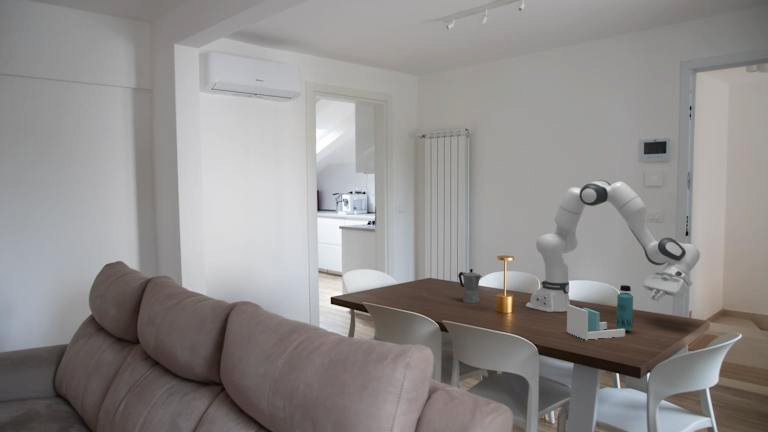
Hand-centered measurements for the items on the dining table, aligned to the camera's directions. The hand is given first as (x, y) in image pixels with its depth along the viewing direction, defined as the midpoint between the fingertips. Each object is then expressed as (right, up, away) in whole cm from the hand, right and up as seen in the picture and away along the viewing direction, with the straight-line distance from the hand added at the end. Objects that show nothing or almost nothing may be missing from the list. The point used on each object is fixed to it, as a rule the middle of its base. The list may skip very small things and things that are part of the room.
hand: (654, 299), depth 230 cm
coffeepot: (-71, -11, +59) cm, 93 cm away
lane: (-28, -14, -7) cm, 32 cm away
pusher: (-31, -13, -8) cm, 34 cm away
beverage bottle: (-14, -14, -3) cm, 20 cm away
